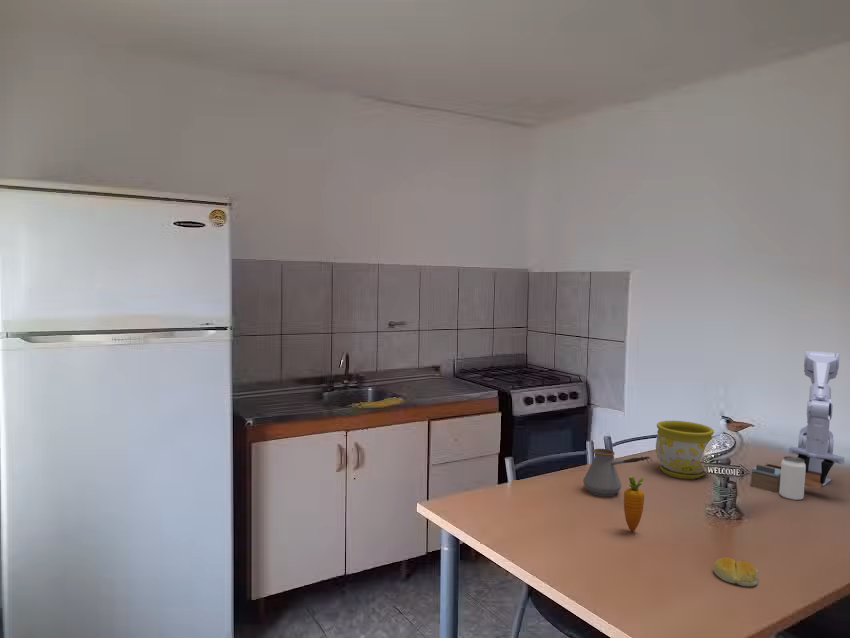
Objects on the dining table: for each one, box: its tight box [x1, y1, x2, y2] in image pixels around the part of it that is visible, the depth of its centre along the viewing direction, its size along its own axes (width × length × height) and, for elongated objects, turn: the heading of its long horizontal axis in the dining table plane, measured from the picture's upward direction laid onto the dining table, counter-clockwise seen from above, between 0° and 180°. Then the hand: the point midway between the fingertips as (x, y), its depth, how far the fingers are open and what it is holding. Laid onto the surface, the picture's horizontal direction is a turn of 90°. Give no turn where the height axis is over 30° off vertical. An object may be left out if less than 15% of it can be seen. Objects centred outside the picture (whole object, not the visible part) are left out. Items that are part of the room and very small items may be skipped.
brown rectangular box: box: [750, 463, 781, 493], centre depth 197 cm, size 14×8×5 cm, turn 133°
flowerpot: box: [655, 420, 715, 480], centre depth 205 cm, size 18×18×16 cm
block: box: [804, 470, 824, 490], centre depth 187 cm, size 4×4×4 cm
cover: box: [751, 464, 781, 477], centre depth 194 cm, size 7×8×2 cm
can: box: [778, 455, 806, 501], centre depth 185 cm, size 6×6×12 cm
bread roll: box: [713, 556, 759, 587], centre depth 133 cm, size 8×9×4 cm
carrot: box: [623, 475, 645, 533], centre depth 155 cm, size 5×5×15 cm
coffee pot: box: [582, 448, 653, 497], centre depth 181 cm, size 21×12×15 cm, turn 40°
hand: (814, 480), depth 187 cm, fingers closed on block, 4 cm apart
